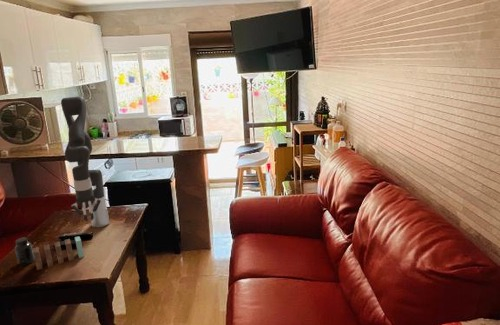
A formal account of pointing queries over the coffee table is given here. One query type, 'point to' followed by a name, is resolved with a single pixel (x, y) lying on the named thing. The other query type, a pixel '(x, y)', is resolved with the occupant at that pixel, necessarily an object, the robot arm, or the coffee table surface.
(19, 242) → the supplement bottle
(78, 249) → the domino
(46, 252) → the domino
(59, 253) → the domino
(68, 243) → the domino
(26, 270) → the coffee table surface
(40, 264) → the domino
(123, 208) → the coffee table surface
